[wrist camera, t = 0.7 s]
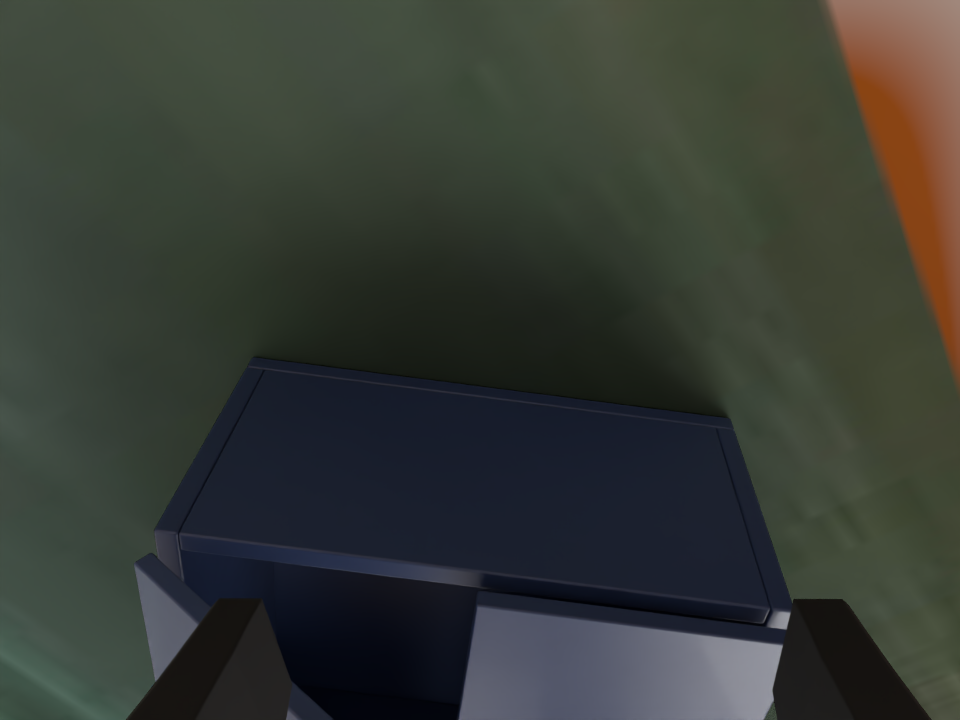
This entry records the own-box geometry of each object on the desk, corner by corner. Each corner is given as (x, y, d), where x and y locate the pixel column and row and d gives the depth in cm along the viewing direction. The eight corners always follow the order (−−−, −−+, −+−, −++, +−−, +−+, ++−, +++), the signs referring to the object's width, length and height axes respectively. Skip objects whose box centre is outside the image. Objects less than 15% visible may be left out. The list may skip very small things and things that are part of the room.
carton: (622, 721, 29) (644, 954, 23) (269, 676, 29) (196, 899, 23) (731, 417, 21) (807, 646, 15) (251, 355, 21) (135, 560, 15)
